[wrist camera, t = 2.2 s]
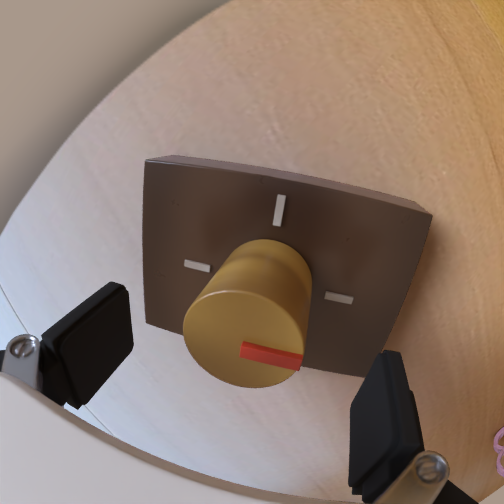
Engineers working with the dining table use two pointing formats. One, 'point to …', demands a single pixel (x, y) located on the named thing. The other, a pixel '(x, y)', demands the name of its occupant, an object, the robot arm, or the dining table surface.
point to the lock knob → (252, 316)
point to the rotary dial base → (290, 233)
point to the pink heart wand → (499, 451)
